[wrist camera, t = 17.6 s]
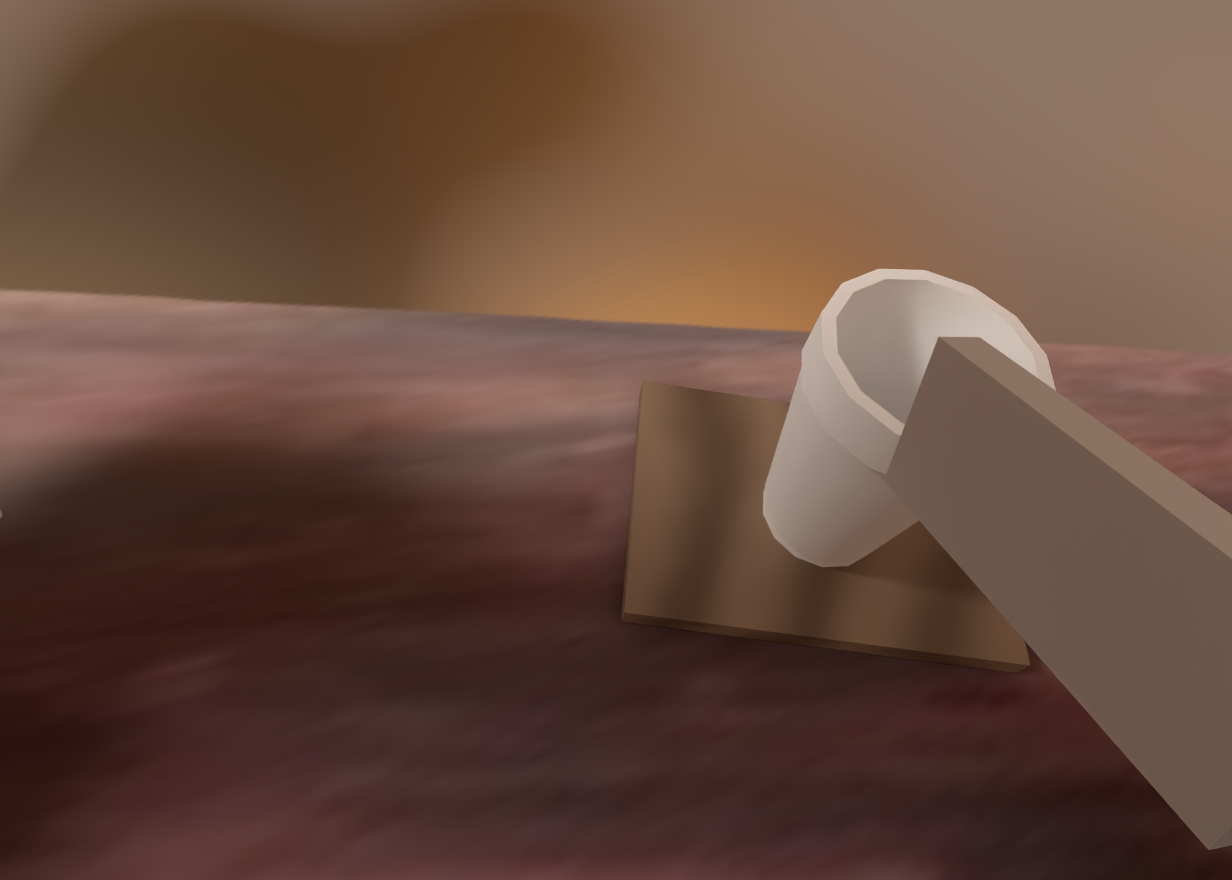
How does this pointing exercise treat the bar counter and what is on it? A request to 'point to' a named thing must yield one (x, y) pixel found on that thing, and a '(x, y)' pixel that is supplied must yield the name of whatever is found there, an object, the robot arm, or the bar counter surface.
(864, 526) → the foam cup
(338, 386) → the bar counter surface
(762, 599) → the walnut board
